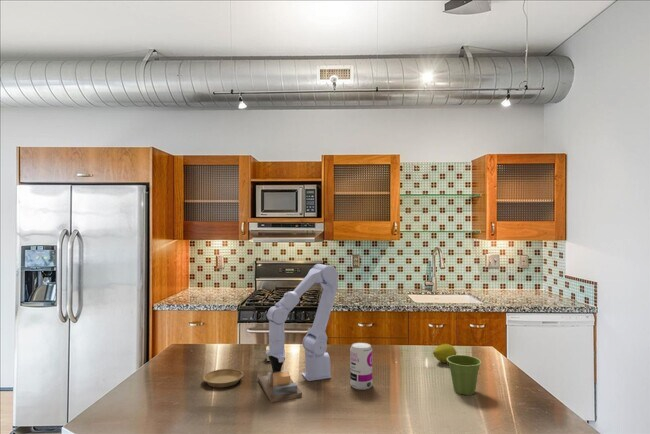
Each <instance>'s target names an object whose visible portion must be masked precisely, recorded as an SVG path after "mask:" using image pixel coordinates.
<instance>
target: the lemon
mask: <svg viewBox="0 0 650 434" xmlns="http://www.w3.org/2000/svg"><path fill="white" fill-rule="evenodd" d="M432 354H433V356H434V358H435V359H436V360H437V361H438V362H440V363H443V364H449V363H448V361H447V357H449V356H452V355H457V350H456V349H455V347H454V346H453V345H451V344H449V343H442V344H440V345H438V346H436V348H435V349H434V350H433V352H432Z"/></svg>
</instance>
